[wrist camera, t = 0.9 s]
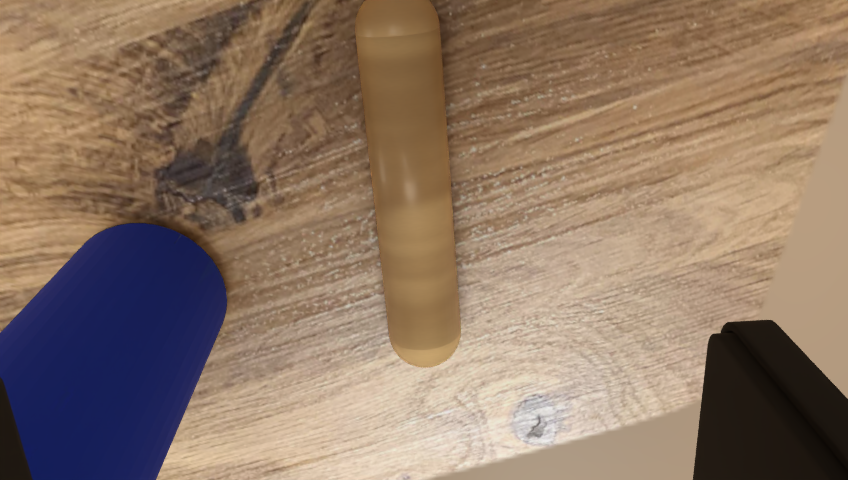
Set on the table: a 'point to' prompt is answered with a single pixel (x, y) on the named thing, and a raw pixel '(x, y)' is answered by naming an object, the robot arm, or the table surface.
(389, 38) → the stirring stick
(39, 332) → the beverage can
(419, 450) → the table surface
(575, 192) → the table surface
